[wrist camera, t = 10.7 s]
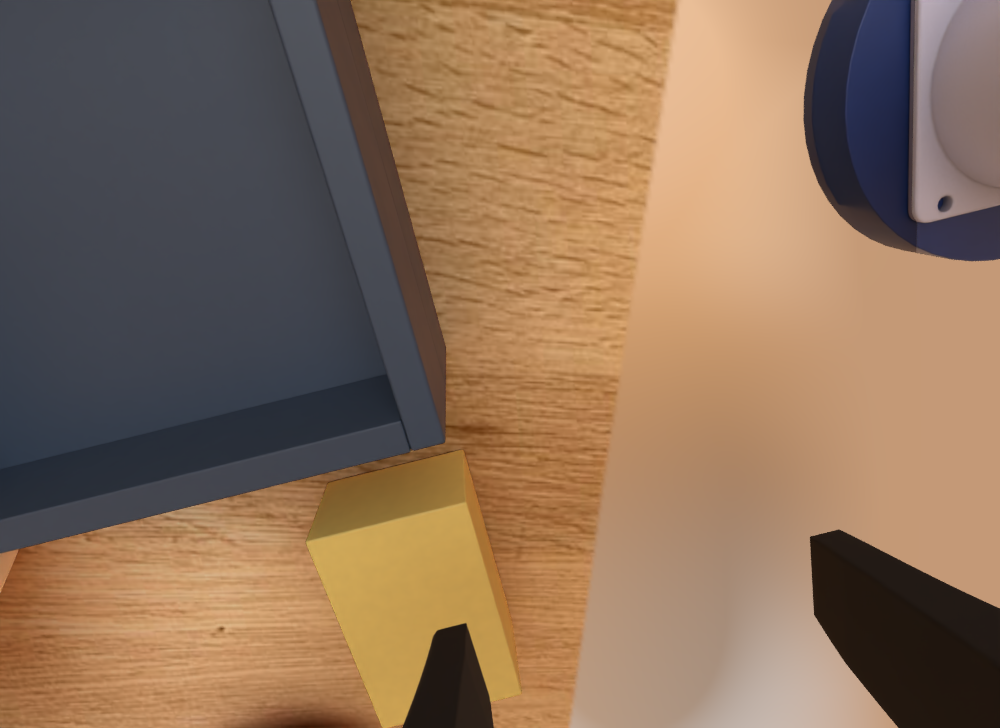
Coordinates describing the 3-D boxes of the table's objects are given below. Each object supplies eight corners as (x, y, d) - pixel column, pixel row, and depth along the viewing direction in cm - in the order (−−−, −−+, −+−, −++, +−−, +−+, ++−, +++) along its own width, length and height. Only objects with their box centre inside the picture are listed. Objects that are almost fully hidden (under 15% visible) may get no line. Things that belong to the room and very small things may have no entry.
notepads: (463, 448, 21) (466, 502, 17) (511, 620, 23) (522, 695, 20) (327, 482, 21) (304, 542, 17) (391, 650, 23) (382, 730, 20)
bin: (298, -189, 14) (173, -489, 8) (446, 349, 19) (446, 444, 13) (-234, -62, 14) (-814, -257, 8) (50, 446, 19) (-158, 593, 13)
